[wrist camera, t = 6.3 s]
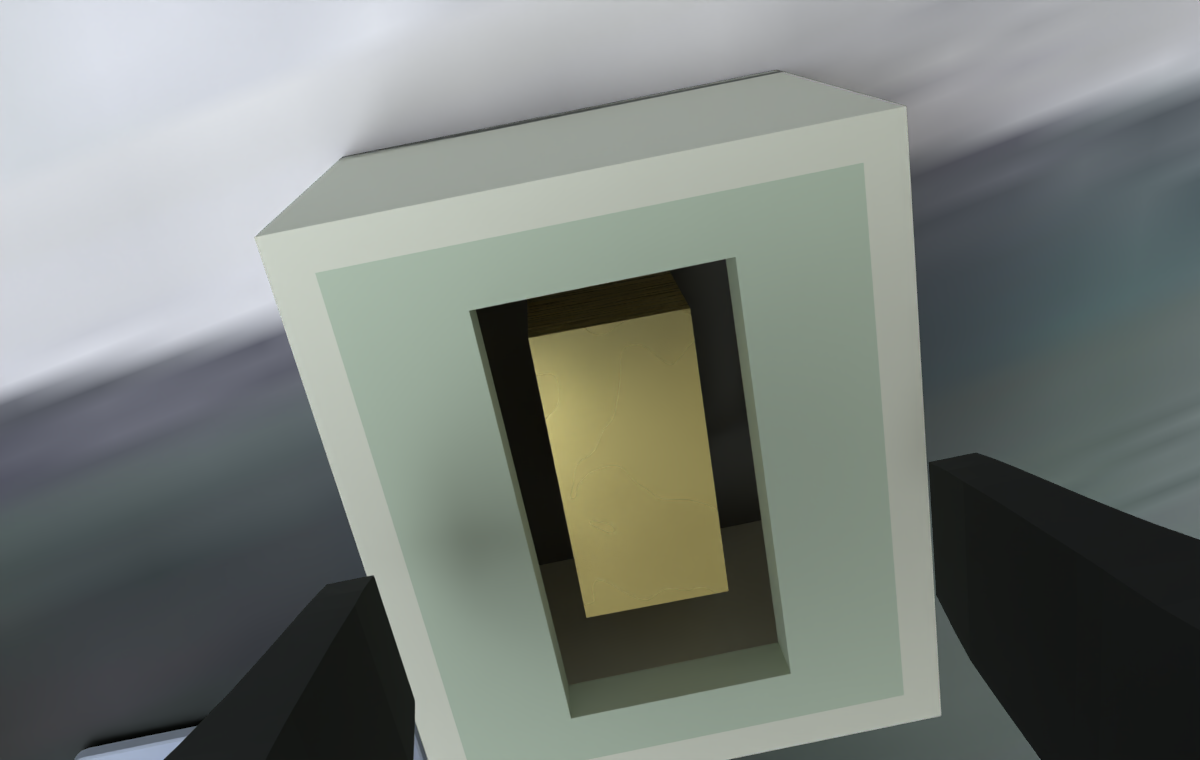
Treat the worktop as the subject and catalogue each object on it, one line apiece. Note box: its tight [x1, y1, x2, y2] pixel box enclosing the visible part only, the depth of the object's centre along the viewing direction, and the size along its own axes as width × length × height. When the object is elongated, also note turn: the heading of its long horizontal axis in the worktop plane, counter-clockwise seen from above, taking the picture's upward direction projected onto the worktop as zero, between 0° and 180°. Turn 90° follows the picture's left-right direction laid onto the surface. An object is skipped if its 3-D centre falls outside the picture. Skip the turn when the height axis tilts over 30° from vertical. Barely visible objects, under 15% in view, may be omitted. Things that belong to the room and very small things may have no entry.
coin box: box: [254, 70, 941, 760], centre depth 17 cm, size 10×8×6 cm
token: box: [527, 270, 729, 618], centre depth 17 cm, size 5×2×5 cm, turn 10°
